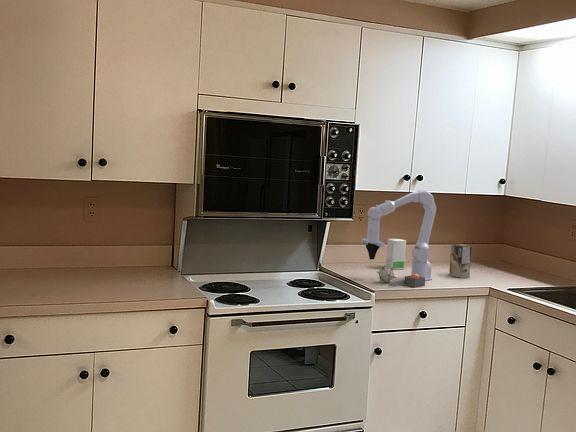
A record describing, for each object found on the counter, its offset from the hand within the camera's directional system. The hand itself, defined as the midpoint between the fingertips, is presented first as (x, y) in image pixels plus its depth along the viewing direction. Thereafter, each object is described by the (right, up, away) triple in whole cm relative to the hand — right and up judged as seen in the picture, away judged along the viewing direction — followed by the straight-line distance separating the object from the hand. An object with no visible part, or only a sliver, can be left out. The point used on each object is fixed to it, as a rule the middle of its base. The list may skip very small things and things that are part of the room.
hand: (371, 259), depth 320 cm
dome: (+19, -11, -11) cm, 25 cm away
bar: (+10, -12, -14) cm, 20 cm away
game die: (+6, -11, -8) cm, 15 cm away
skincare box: (+16, -7, +28) cm, 33 cm away
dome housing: (+19, -12, -11) cm, 25 cm away
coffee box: (+47, -10, +15) cm, 50 cm away
